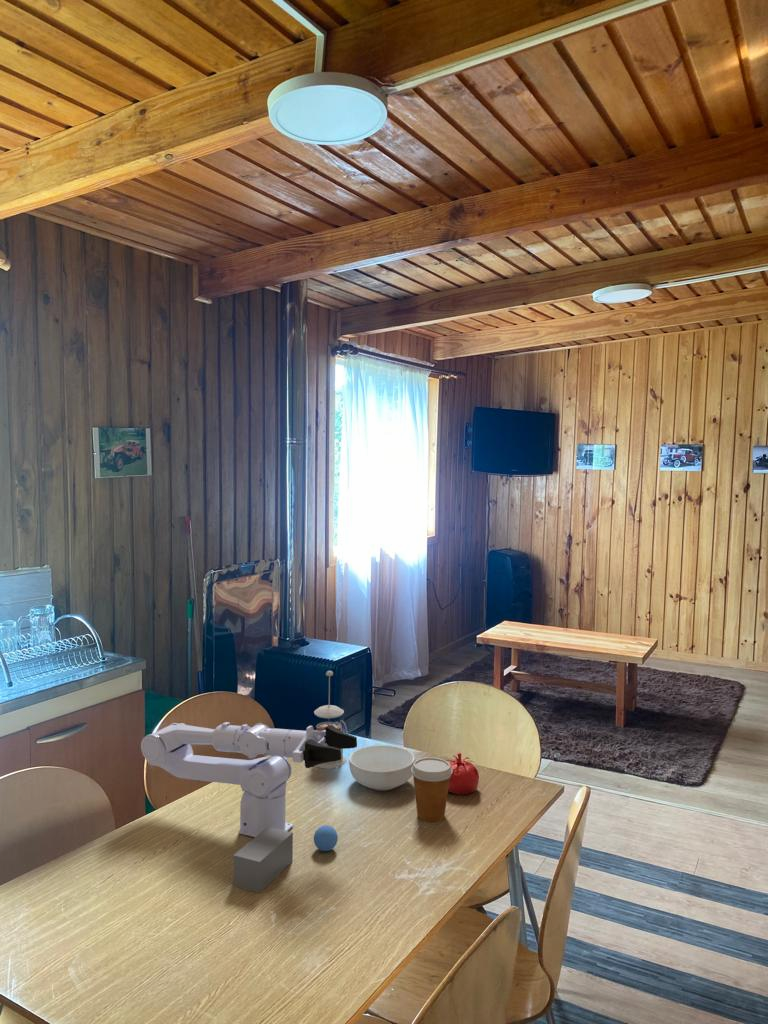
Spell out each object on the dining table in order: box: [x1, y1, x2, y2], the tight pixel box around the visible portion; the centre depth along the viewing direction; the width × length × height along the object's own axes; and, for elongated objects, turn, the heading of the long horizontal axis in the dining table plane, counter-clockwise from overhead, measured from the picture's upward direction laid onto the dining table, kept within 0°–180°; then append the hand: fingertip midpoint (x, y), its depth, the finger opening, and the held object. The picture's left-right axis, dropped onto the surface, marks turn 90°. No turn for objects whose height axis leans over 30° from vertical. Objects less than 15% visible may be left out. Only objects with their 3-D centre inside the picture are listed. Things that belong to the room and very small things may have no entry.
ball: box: [313, 824, 339, 852], centre depth 157 cm, size 5×5×5 cm
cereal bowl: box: [348, 744, 416, 791], centre depth 190 cm, size 17×17×7 cm
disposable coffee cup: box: [411, 757, 452, 822], centre depth 173 cm, size 10×10×12 cm
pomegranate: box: [445, 752, 480, 796], centre depth 187 cm, size 10×10×9 cm
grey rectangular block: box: [232, 827, 294, 894], centre depth 148 cm, size 6×12×6 cm, turn 157°
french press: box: [313, 670, 349, 769], centre depth 203 cm, size 10×12×25 cm
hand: (348, 748), depth 156 cm, fingers open, 7 cm apart
